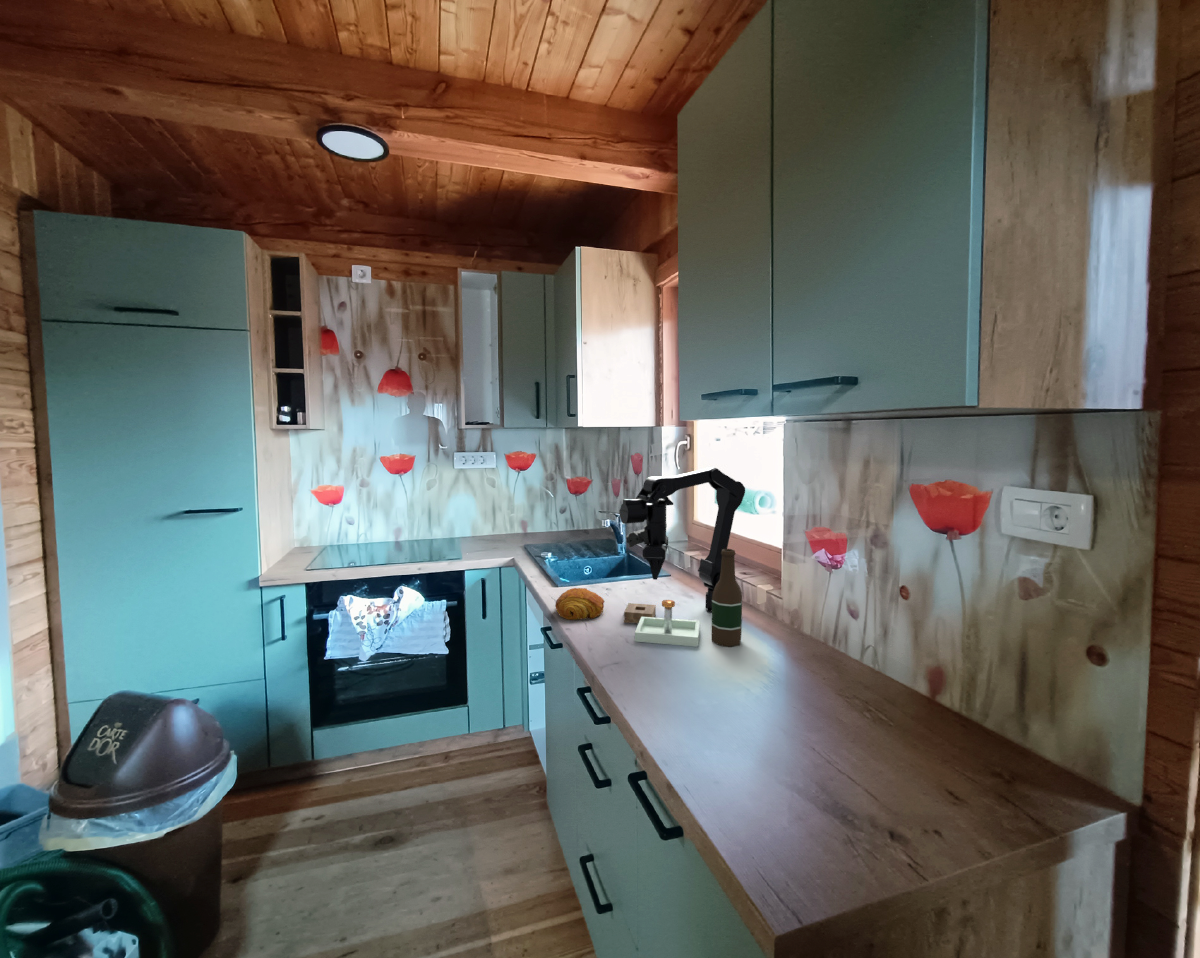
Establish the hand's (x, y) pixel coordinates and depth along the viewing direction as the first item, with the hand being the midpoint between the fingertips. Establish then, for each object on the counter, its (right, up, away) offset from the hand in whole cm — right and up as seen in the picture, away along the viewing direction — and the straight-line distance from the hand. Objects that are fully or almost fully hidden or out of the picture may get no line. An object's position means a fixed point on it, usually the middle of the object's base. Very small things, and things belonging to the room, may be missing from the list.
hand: (656, 575), depth 154 cm
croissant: (-22, -13, +6) cm, 26 cm away
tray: (+2, -14, -12) cm, 18 cm away
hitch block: (-5, -13, +1) cm, 14 cm away
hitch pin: (+2, -13, -12) cm, 18 cm away
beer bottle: (+16, -15, -16) cm, 27 cm away
